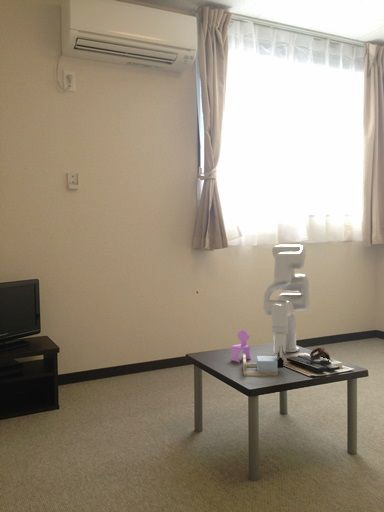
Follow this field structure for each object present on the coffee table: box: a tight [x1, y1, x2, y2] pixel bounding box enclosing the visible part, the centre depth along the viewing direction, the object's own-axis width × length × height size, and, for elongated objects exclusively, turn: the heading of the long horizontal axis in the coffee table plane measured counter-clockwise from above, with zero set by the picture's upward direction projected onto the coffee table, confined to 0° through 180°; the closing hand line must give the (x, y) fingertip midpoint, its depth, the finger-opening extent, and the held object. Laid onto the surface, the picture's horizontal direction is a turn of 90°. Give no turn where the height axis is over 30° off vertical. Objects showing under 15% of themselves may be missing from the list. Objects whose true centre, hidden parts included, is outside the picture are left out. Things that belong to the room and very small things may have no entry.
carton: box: [256, 355, 279, 375], centre depth 225 cm, size 9×9×6 cm
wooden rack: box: [242, 353, 278, 377], centre depth 225 cm, size 16×15×6 cm
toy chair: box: [230, 329, 252, 363], centre depth 245 cm, size 8×9×15 cm
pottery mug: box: [309, 347, 332, 361], centre depth 239 cm, size 12×10×8 cm
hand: (280, 367), depth 225 cm, fingers closed
